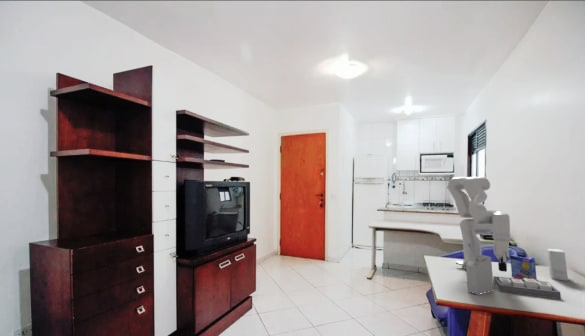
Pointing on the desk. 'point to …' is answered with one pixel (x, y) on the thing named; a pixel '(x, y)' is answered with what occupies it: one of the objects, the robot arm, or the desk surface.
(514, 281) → the key terracotta
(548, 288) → the key charcoal
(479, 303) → the desk surface
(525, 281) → the key olive
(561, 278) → the skincare box
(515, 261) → the ink cartridge box
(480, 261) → the fuel canister
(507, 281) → the key slate
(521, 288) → the grey compartment tray
